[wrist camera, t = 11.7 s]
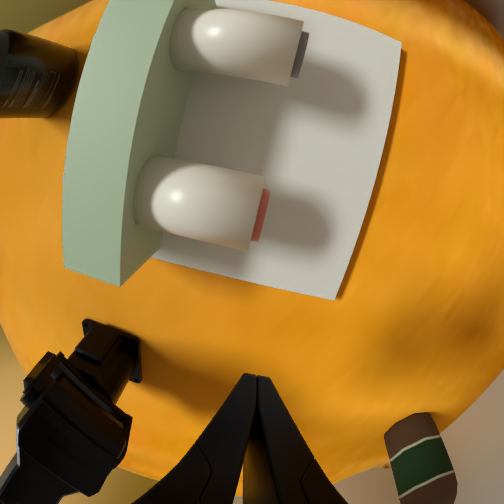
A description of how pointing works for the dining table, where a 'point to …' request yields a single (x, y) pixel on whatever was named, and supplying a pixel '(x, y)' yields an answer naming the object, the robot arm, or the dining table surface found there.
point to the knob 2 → (201, 201)
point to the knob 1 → (238, 44)
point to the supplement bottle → (34, 75)
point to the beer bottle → (420, 462)
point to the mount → (228, 145)
